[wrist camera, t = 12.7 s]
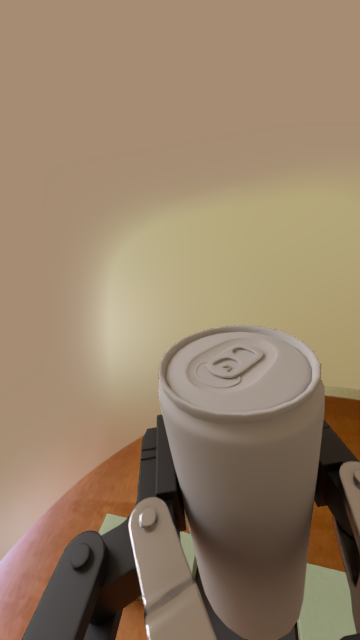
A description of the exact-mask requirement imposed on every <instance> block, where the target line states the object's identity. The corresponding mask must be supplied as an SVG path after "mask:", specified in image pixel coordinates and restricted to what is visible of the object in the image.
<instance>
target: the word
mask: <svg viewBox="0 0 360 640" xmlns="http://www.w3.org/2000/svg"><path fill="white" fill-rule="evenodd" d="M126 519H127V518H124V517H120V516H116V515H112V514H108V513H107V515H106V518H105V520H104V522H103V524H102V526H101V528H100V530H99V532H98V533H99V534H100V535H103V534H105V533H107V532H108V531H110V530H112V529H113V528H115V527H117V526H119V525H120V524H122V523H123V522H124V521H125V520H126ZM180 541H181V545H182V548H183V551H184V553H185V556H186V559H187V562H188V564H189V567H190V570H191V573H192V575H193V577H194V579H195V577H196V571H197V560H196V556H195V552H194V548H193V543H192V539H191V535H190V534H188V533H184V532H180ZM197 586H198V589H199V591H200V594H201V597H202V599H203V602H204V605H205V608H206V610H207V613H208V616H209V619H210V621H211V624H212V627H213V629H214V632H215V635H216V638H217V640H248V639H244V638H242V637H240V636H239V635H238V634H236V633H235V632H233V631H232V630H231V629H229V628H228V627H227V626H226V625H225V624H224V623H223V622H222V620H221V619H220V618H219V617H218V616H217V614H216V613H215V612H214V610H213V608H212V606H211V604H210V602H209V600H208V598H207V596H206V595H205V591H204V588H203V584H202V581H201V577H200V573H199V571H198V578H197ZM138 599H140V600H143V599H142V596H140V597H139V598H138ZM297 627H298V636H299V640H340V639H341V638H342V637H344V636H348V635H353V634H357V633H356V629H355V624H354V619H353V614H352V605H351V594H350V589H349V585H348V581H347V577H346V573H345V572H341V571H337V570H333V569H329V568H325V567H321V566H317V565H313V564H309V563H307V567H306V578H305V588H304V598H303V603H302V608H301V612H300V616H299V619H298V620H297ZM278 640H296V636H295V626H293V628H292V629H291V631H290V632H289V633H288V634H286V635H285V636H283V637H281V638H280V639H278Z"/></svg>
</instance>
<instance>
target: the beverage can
mask: <svg viewBox="0 0 360 640" xmlns="http://www.w3.org/2000/svg"><path fill="white" fill-rule="evenodd" d="M158 378H159V380H160V382H159V393H158V398H159V403H160V407H161V411H162V416H163V420H164V424H165V428H166V433H167V437H168V441H169V445H170V450H171V454H172V458H173V462H174V467H175V471H176V475H177V479H178V483H179V488H180V492H181V496H182V500H183V505H184V509H185V514H186V518H187V522H188V526H189V531H190V535H191V539H192V543H193V548H194V552H195V556H196V560H197V565H198V569H199V573H200V577H201V581H202V584H203V588H204V591H205V595H206V596H207V598H208V600H209V602H210V604H211V606H212V608H213V610H214V612H215V613H216V614H217V616H218V617H219V618H220V619H221V620H222V622H223V623H224V624H225V625H226V626H227V627H228V628H229V629H231V630H232V631H233V632H235V633H236V634H238V635H239V636H240V637H242V638H244V639H248V640H278V639H280V638H281V637H283V636H285V635H286V634H288V633H289V632H290V631H291V629H292V628H293V626H294V625H295V623H296V622H297V620H298V619H299V616H300V612H301V608H302V603H303V598H304V588H305V578H306V567H307V557H308V547H309V538H310V529H311V520H312V512H313V504H314V496H315V489H316V481H317V473H318V465H319V456H320V447H321V438H322V429H323V419H324V409H325V395H324V385H323V383H322V380H321V363H320V361H319V360H318V358H317V356H316V354H315V352H314V351H313V350H312V349H311V348H310V347H309V346H308V345H306V344H305V343H304V342H303V341H301V340H299V339H297V338H295V337H294V336H292V335H290V334H287V333H284V332H281V331H278V330H275V329H270V328H264V327H259V326H245V325H238V326H223V327H217V328H211V329H207V330H204V331H200V332H197V333H194V334H192V335H190V336H187V337H185V338H183V339H182V340H180V341H178V342H177V343H175V344H174V345H173V346H172V347H171V348H170V349H169V350H168V351H167V352H166V353H165V354H164V355H163V357H162V359H161V361H160V363H159V372H158Z"/></svg>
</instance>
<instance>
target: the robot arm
mask: <svg viewBox="0 0 360 640" xmlns="http://www.w3.org/2000/svg"><path fill="white" fill-rule="evenodd" d="M141 451H142V452H141V462H140V472H139V484H138V495H137V502H136V505H135V507H134V509H133V511H132V513H131V514H130V516H129V517H128V518H127V519H126V520H125V521H124V522H123V523H122V524H120V525H119V526H117V527H115V528H113V529H112V530H110V531H108V532H107V533H105V534H103V535H100V534H99V533H98V532H96V531H86V532H83V533H81V534H79V535H78V536H76V537H75V538H74V539H73V540H72V541H71V542H70V543H69V544H68V546H67V547H66V549H65V550H64V552H63V554H62V556H61V558H60V560H59V562H58V564H57V566H56V569H55V571H54V573H53V575H52V577H51V579H50V581H49V583H48V585H47V587H46V590H45V592H44V594H43V596H42V598H41V600H40V602H39V604H38V606H37V608H36V611H35V613H34V615H33V617H32V619H31V621H30V623H29V625H28V627H27V629H26V632H25V634H24V636H23V638H22V640H115V638H116V634H117V630H118V626H119V622H120V619H121V615H122V611H123V608H124V607H126V606H127V605H129V604H130V603H132V602H133V601H134V600H136V599H137V598H139V597H140V596H142V599H143V604H144V610H145V614H144V620H145V627H146V633H147V638H148V640H217V638H216V635H215V632H214V629H213V627H212V624H211V621H210V619H209V616H208V613H207V610H206V608H205V605H204V602H203V599H202V597H201V594H200V591H199V589H198V586H197V584H196V581H195V579H194V577H193V575H192V573H191V570H190V567H189V564H188V562H187V559H186V556H185V553H184V551H183V548H182V545H181V541H180V531H184V530H186V522H185V510H184V505H183V500H182V496H181V492H180V488H179V483H178V479H177V475H176V471H175V467H174V462H173V458H172V454H171V450H170V445H169V441H168V437H167V433H166V428H165V424H164V420H163V416H162V415H157V427H156V428H151V429H147V431H146V433H145V435H144V437H143V439H142V449H141ZM314 501H315V503H316V504H317V506H318V507H320V506H326V505H327V506H328V507H329V509H330V511H331V512H332V514H333V515H332V522H333V526H334V530H335V534H336V538H337V542H338V546H339V550H340V554H341V557H342V561H343V565H344V569H345V573H346V577H347V581H348V585H349V589H350V594H351V605H352V614H353V619H354V624H355V629H356V633H357V634H353V635H348V636H344V637H342V638H341V639H340V640H360V462H359V461H358V459H357V458H356V457H355V456H354V455H353V454H352V452H351V451H350V450H349V449H348V448H347V446H346V445H345V444H344V443H343V442H342V440H341V439H340V438H339V437H338V436H337V434H336V433H335V432H334V431H333V430H332V428H330V426H329V425H328V424H327V422H326V421H325V420H323V429H322V438H321V447H320V456H319V465H318V473H317V481H316V489H315V496H314Z"/></svg>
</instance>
